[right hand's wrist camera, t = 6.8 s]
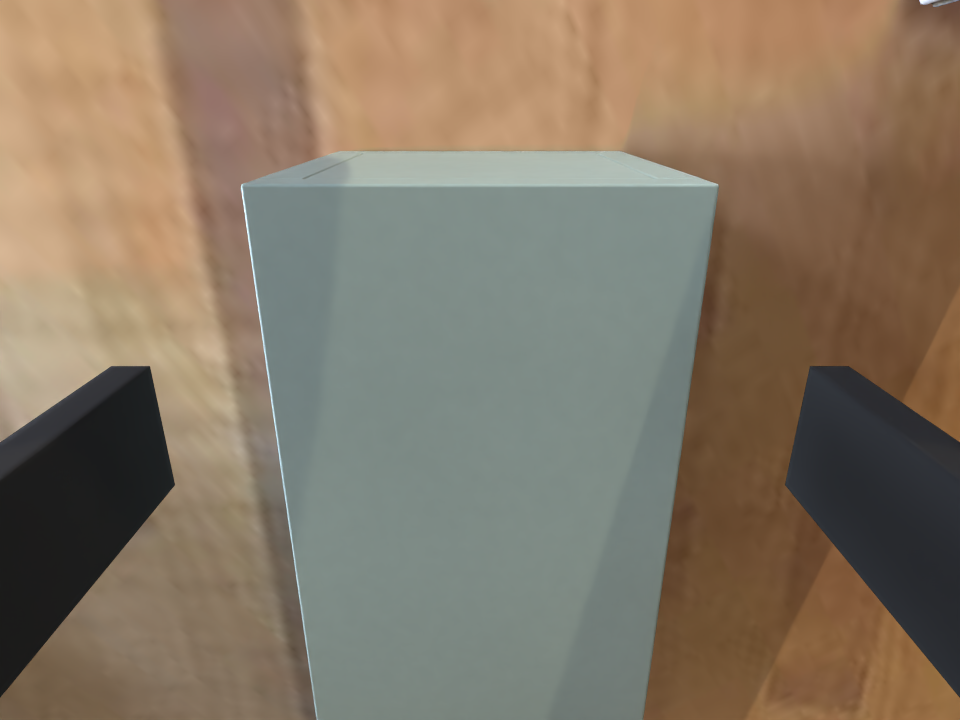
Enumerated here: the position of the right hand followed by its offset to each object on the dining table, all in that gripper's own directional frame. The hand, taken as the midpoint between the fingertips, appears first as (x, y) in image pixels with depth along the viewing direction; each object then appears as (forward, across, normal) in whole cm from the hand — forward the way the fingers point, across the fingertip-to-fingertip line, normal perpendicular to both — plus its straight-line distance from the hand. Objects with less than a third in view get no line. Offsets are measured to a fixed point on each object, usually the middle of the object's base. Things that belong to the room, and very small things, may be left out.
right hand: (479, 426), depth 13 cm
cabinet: (+12, 0, -6) cm, 14 cm away
